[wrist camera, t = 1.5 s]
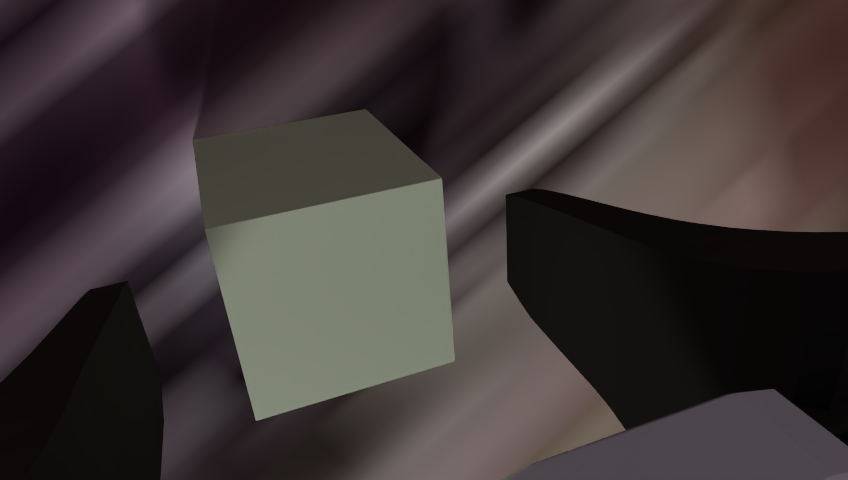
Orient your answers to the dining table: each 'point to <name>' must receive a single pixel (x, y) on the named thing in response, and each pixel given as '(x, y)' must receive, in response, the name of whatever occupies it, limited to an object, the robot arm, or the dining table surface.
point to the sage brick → (326, 256)
